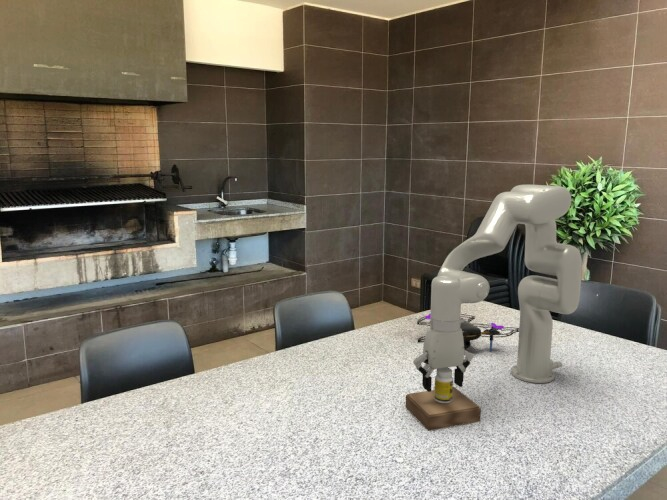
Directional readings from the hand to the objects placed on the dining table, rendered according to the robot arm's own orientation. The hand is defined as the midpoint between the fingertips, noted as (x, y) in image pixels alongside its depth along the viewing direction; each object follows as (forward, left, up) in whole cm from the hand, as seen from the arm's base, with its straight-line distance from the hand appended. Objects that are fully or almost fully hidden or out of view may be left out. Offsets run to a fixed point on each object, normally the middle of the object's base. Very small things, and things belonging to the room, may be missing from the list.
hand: (442, 387), depth 137 cm
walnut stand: (0, 0, -8) cm, 8 cm away
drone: (-30, -44, -8) cm, 55 cm away
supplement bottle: (0, 0, -4) cm, 4 cm away
